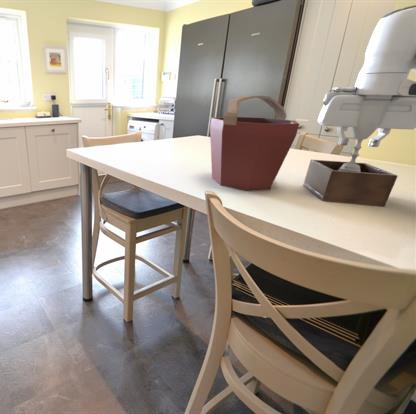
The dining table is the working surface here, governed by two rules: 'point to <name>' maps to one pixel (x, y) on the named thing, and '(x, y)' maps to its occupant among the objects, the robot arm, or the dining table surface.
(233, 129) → the bucket
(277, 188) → the dining table surface
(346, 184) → the bin
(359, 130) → the chalice
